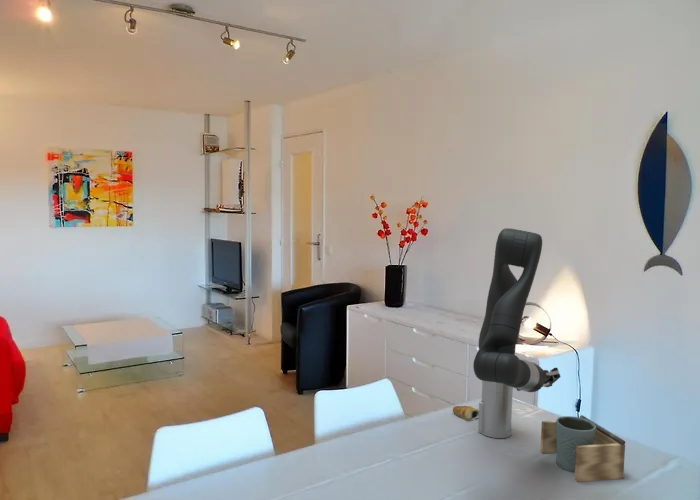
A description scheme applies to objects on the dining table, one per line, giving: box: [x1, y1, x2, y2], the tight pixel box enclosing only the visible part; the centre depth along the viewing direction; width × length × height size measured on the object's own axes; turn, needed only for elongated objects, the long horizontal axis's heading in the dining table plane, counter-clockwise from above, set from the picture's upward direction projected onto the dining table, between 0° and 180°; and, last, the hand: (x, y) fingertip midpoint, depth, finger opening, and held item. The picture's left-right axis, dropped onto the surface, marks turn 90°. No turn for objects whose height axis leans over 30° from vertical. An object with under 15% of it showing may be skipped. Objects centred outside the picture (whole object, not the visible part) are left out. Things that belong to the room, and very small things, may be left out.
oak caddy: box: [539, 414, 626, 483], centre depth 155 cm, size 13×18×10 cm
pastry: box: [452, 405, 479, 422], centre depth 191 cm, size 9×7×4 cm
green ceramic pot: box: [555, 415, 596, 473], centre depth 154 cm, size 10×10×12 cm
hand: (548, 383), depth 157 cm, fingers closed
